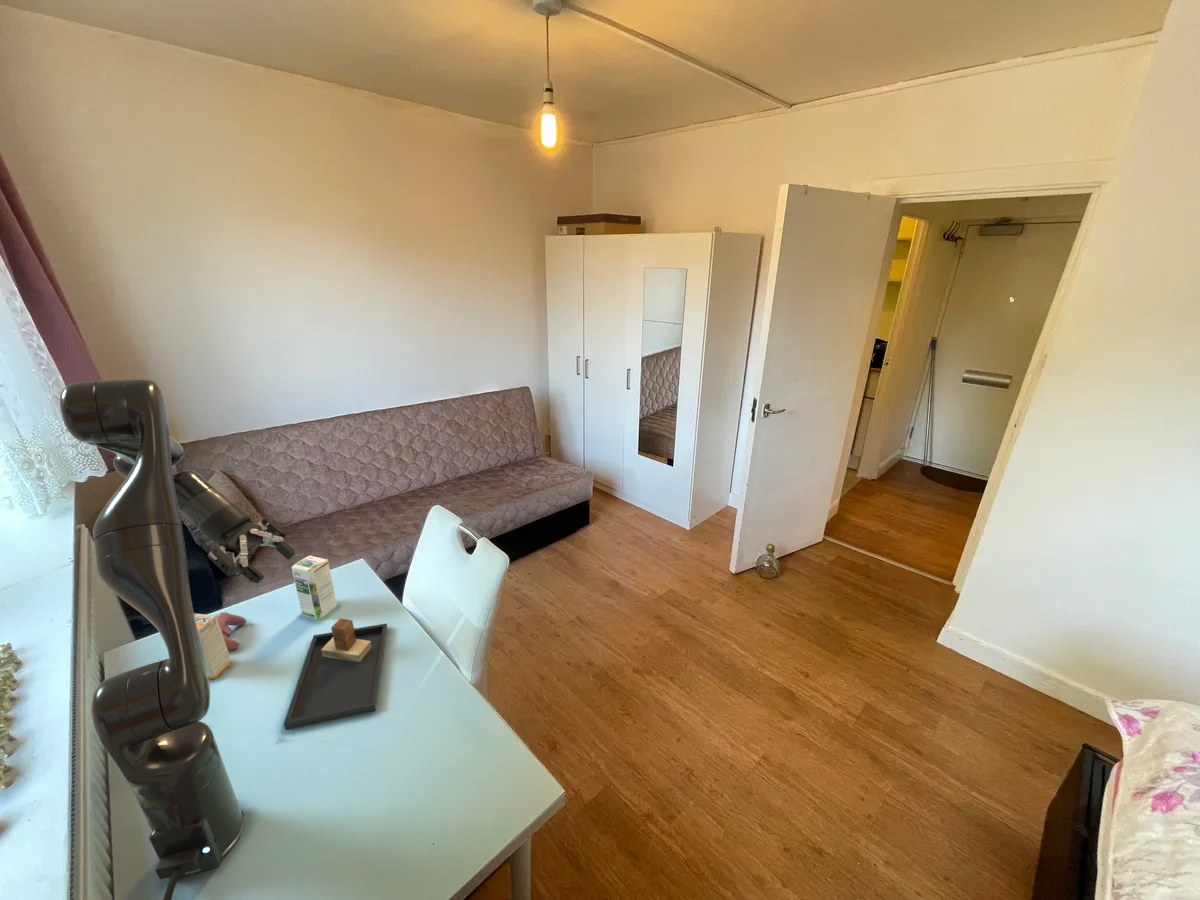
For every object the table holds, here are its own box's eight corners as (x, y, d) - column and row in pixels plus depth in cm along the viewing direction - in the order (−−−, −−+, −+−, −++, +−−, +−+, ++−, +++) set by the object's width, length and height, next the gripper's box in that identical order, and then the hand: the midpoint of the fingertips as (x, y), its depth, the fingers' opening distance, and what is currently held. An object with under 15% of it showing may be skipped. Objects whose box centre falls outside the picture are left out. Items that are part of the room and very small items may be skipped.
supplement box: (233, 662, 106) (218, 614, 101) (215, 680, 102) (198, 630, 97) (198, 659, 107) (181, 610, 102) (178, 676, 102) (159, 626, 97)
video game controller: (230, 631, 117) (207, 613, 113) (249, 619, 118) (226, 601, 114) (221, 660, 108) (195, 642, 105) (240, 647, 109) (216, 629, 106)
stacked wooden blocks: (372, 647, 110) (367, 619, 108) (359, 662, 106) (354, 633, 103) (336, 642, 112) (330, 614, 109) (322, 656, 108) (315, 628, 105)
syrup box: (301, 616, 120) (289, 567, 115) (320, 601, 125) (309, 553, 120) (319, 621, 118) (308, 572, 113) (338, 606, 124) (328, 558, 118)
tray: (376, 712, 96) (374, 705, 95) (286, 731, 91) (283, 723, 91) (388, 630, 117) (386, 623, 116) (315, 642, 112) (313, 635, 111)
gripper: (191, 522, 92) (258, 579, 95) (252, 489, 105) (310, 541, 108) (175, 542, 95) (241, 598, 98) (236, 508, 108) (293, 558, 111)
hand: (277, 568), depth 103 cm, fingers open, 8 cm apart
